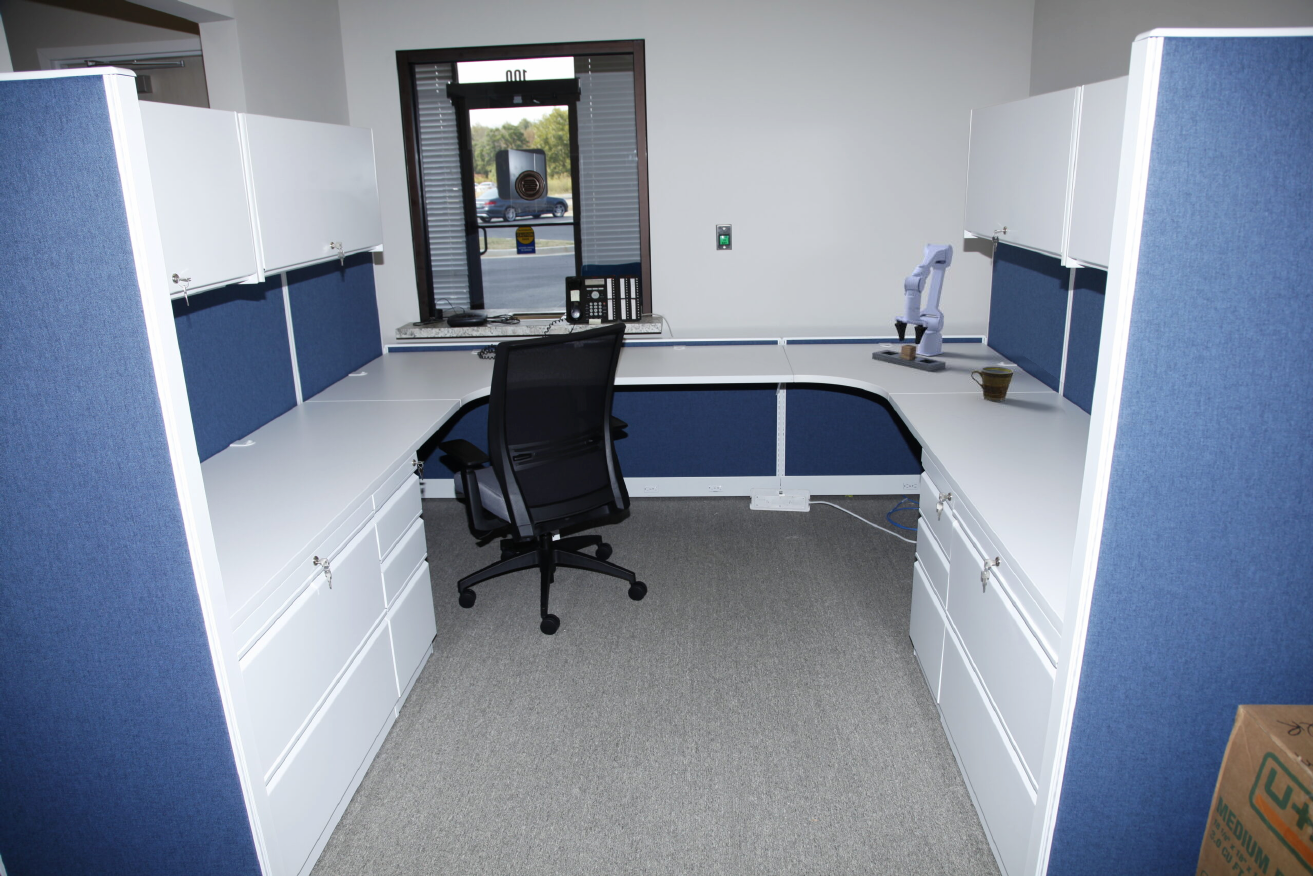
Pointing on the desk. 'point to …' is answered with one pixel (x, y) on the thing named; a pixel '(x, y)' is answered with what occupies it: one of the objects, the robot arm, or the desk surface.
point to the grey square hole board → (909, 361)
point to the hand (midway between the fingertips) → (909, 342)
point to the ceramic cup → (994, 382)
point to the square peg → (908, 352)
